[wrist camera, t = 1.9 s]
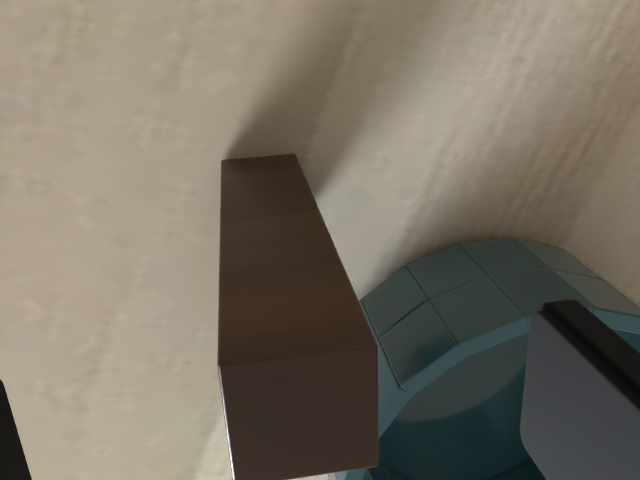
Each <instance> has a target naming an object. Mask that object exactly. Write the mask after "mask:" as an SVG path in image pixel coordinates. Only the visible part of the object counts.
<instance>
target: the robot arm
mask: <svg viewBox="0 0 640 480" xmlns="http://www.w3.org/2000/svg"><path fill="white" fill-rule="evenodd" d="M520 435H521V439H522V442H523V445H524V447H525V449H526V451H527V452H528V453H529V455H530V456H531V458H532V459H533V461H534V462H535V464H536V465H537V467H538V468H539V469H540V471H541V472H542V474H543V475H544V477H545V478H546V480H640V353H639V352H638V351H637V350H636V349H635V348H633V347H632V346H631V345H630V344H629V343H627V342H626V341H625V340H624V339H623V338H621V337H620V336H619V335H618V334H617V333H615V332H614V331H613V330H612V329H611V328H609V327H608V326H607V325H606V324H605V323H603V322H602V321H601V320H600V319H599V318H597V317H596V316H595V315H594V314H593V313H591V312H590V311H589V310H588V309H587V308H585V307H584V306H583V305H582V304H581V303H579V302H578V301H576V300H575V299H569V300H561V301H553V302H545V303H543V304H541V306H540V307H539V310H538V311H535V312H534V313H533V314H532V316H531V320H530V329H529V340H528V350H527V360H526V371H525V381H524V391H523V401H522V412H521V422H520ZM0 480H32V479H31V475H30V472H29V469H28V465H27V462H26V459H25V455H24V452H23V448H22V445H21V442H20V438H19V435H18V432H17V428H16V425H15V421H14V418H13V415H12V411H11V408H10V404H9V401H8V398H7V394H6V391H5V388H4V385H3V382H2V381H1V380H0Z"/></svg>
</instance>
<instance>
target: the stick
mask: <svg viewBox="0 0 640 480" xmlns="http://www.w3.org/2000/svg"><path fill="white" fill-rule="evenodd" d="M218 372H219V380H220V387H221V395H222V402H223V410H224V417H225V425H226V432H227V440H228V447H229V454H230V462H231V469H232V477H233V480H288V479H295V478H302V477H309V476H316V475H322V474H329V473H336V472H343V471H350V470H357V469H364V468H370V467H376V466H378V463H379V449H378V345H377V343H376V341H375V338H374V336H373V334H372V331H371V329H370V327H369V324H368V322H367V320H366V317H365V315H364V313H363V310H362V308H361V306H360V303H359V301H358V299H357V297H356V294H355V292H354V290H353V287H352V285H351V283H350V280H349V278H348V276H347V273H346V271H345V269H344V266H343V264H342V262H341V259H340V257H339V255H338V253H337V250H336V248H335V246H334V243H333V241H332V239H331V236H330V234H329V232H328V229H327V227H326V225H325V222H324V220H323V218H322V215H321V213H320V211H319V209H318V206H317V204H316V202H315V199H314V197H313V195H312V192H311V190H310V188H309V185H308V183H307V181H306V178H305V176H304V174H303V172H302V169H301V167H300V165H299V162H298V160H297V158H296V155H295V154H289V155H277V156H265V157H253V158H241V159H228V160H222V161H221V208H220V260H219V313H218Z"/></svg>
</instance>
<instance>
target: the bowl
mask: <svg viewBox="0 0 640 480" xmlns="http://www.w3.org/2000/svg"><path fill="white" fill-rule="evenodd" d="M569 299H575V300H576V301H578V302H579V303H581V304H582V305H583V306H584V307H585V308H587V309H588V310H589V311H590V312H591V313H593V314H594V315H595V316H596V317H597V318H599V319H600V320H601V321H602V322H603V323H605V324H606V325H607V326H608V327H609V328H611V329H612V330H613V331H614V332H615V333H617V334H618V335H619V336H620V337H621V338H623V339H624V340H625V341H626V342H627V343H629V344H630V345H631V346H632V347H633V348H635V349H636V350H637V351H638V352H639V353H640V303H639V302H638V301H636V300H635V299H634V298H632V297H631V296H630V295H628V294H627V293H626V292H624V291H623V290H622V289H620V288H619V287H618V286H616V285H615V284H614V283H612V282H611V281H610V280H608V279H607V278H606V277H604V276H603V275H602V274H600V273H599V272H598V271H596V270H595V269H593V268H592V267H590V266H588V265H587V264H585V263H584V262H582V261H581V260H579V259H578V258H576V257H575V256H573V255H572V254H570V253H569V252H567V251H566V250H564V249H562V248H559V247H555V246H550V245H545V244H541V243H536V242H532V241H527V240H522V239H518V238H504V239H494V240H485V241H475V242H465V243H459V244H455V245H453V246H450V247H448V248H445V249H443V250H441V251H438V252H436V253H433V254H431V255H428V256H426V257H423V258H421V259H418V260H416V261H413V262H411V263H409V264H407V265H406V266H403V267H402V268H401V269H399V270H398V271H397V272H396V273H394V274H393V275H392V276H390V277H389V278H388V279H387V280H385V281H384V282H383V283H381V284H380V285H379V286H378V287H376V288H375V289H374V290H372V291H371V292H370V293H368V294H367V295H366V296H365V297H363V298H362V300H360V301H359V303H360V306H361V308H362V310H363V313H364V315H365V317H366V320H367V322H368V324H369V327H370V329H371V331H372V334H373V336H374V338H375V341H376V343H377V345H378V449H379V463H378V466H376V467H370V468H364V469H357V470H350V471H343V472H336V473H329V474H328V478H329V480H546V478H545V477H544V475H543V474H542V472H541V471H540V469H539V468H538V467H537V465H536V464H535V462H534V461H533V459H532V458H531V456H530V455H529V453H528V452H527V451H526V449H525V447H524V445H523V442H522V439H521V435H520V422H521V412H522V401H523V391H524V381H525V371H526V360H527V350H528V340H529V329H530V320H531V316H532V314H533V313H534V312H535V311H538V310H539V307H540V306H541V304H543V303H545V302H553V301H561V300H569Z"/></svg>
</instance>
